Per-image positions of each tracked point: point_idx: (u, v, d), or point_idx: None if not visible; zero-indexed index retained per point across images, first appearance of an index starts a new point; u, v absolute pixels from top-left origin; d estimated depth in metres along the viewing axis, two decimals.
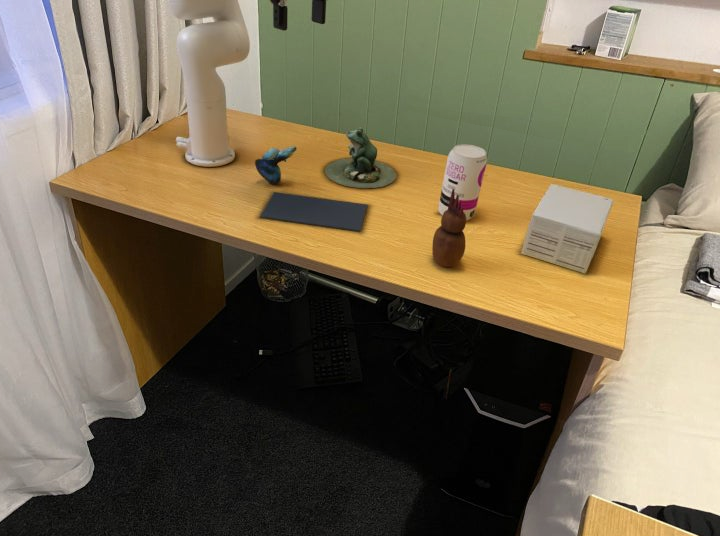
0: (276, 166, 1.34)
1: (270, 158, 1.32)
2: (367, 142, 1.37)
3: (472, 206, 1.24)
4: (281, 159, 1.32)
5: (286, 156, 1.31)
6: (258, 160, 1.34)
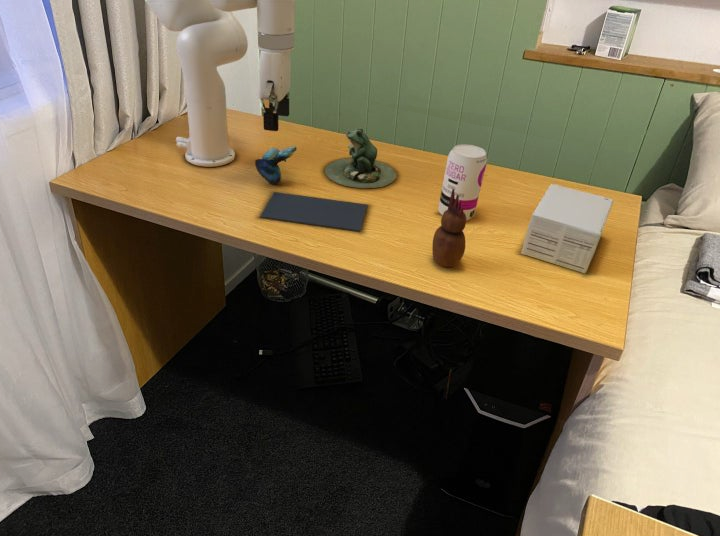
0: (276, 166, 1.34)
1: (270, 158, 1.32)
2: (367, 142, 1.37)
3: (472, 206, 1.24)
4: (281, 159, 1.32)
5: (286, 156, 1.31)
6: (258, 160, 1.34)
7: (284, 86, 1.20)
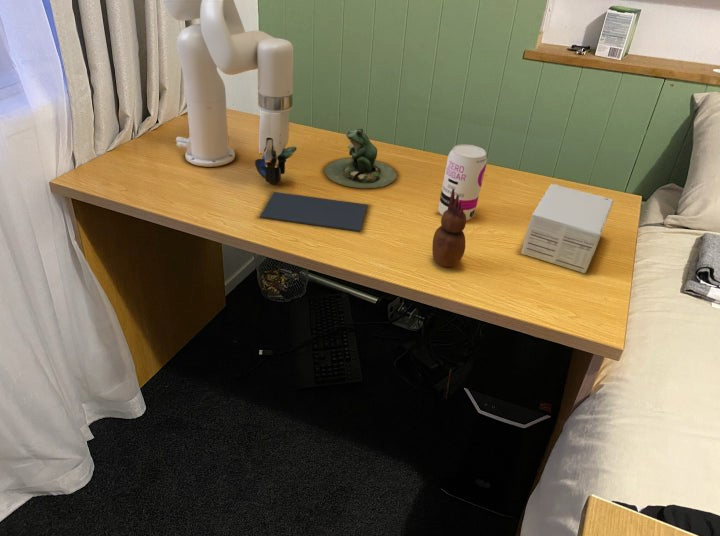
0: None
1: None
2: (367, 142, 1.37)
3: (472, 206, 1.24)
4: (281, 159, 1.32)
5: (286, 156, 1.31)
6: (258, 160, 1.34)
7: (282, 142, 1.28)
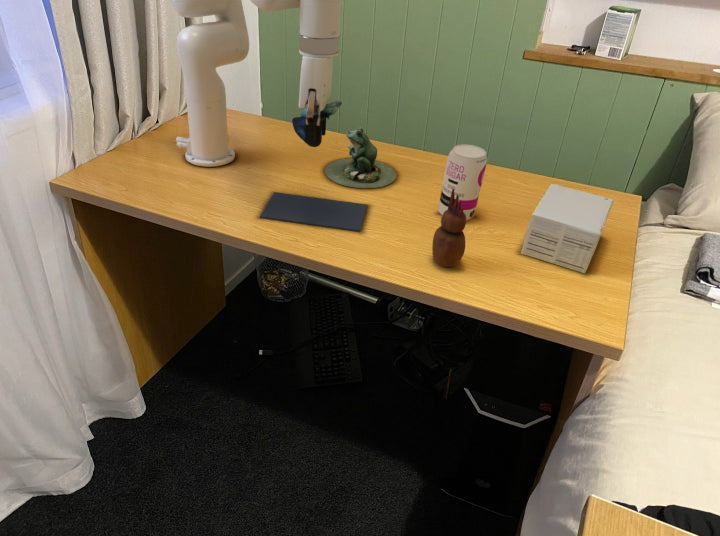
0: None
1: None
2: (367, 142, 1.37)
3: (472, 206, 1.24)
4: (323, 116, 1.13)
5: (329, 113, 1.13)
6: (296, 118, 1.16)
7: (326, 94, 1.10)
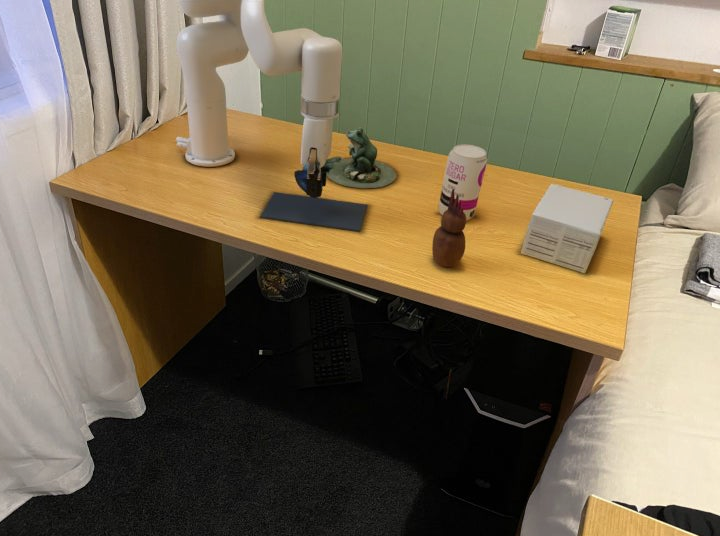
0: None
1: None
2: (367, 142, 1.37)
3: (472, 206, 1.24)
4: (324, 170, 1.20)
5: (330, 167, 1.19)
6: (298, 171, 1.22)
7: (327, 152, 1.16)
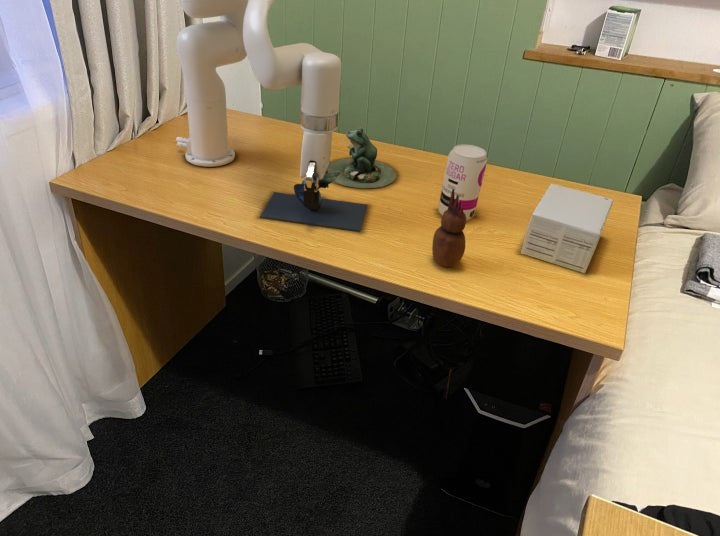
0: None
1: None
2: (367, 142, 1.37)
3: (472, 206, 1.24)
4: (323, 184, 1.22)
5: (329, 182, 1.21)
6: (297, 185, 1.24)
7: (326, 164, 1.18)
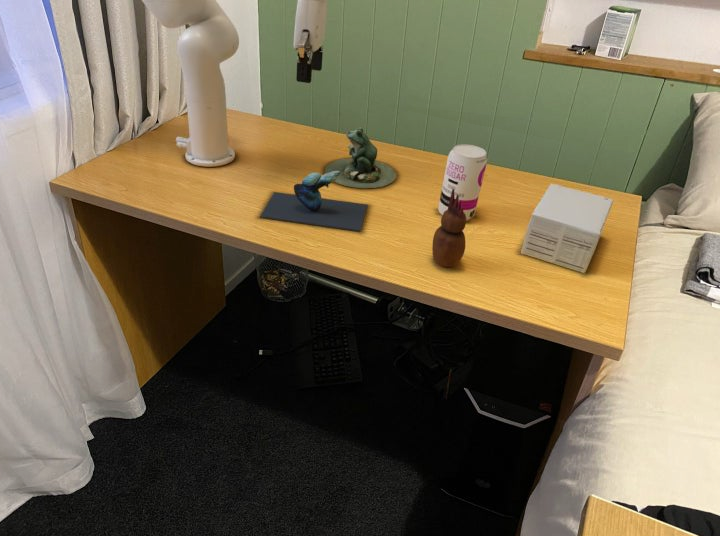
0: (317, 192, 1.23)
1: (311, 183, 1.22)
2: (367, 142, 1.37)
3: (472, 206, 1.24)
4: (323, 184, 1.22)
5: (329, 182, 1.21)
6: (297, 185, 1.24)
7: (319, 37, 1.19)
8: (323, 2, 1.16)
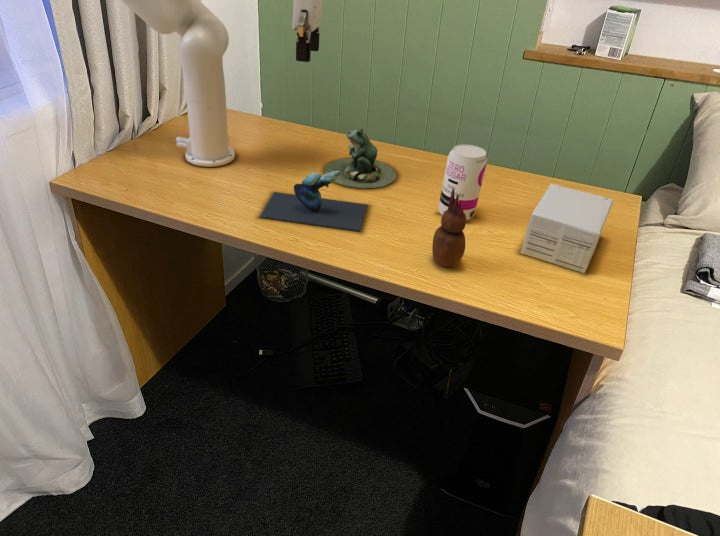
0: (317, 192, 1.23)
1: (311, 183, 1.22)
2: (367, 142, 1.37)
3: (472, 206, 1.24)
4: (323, 184, 1.22)
5: (329, 182, 1.21)
6: (297, 185, 1.24)
7: (317, 17, 1.24)
8: None
